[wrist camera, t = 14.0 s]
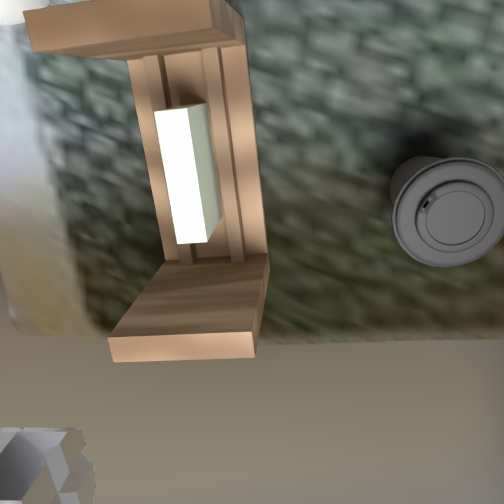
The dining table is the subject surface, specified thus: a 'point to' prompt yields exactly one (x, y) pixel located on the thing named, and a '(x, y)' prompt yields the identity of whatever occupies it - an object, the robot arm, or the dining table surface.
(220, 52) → the track frame
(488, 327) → the dining table surface
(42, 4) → the sauce bottle
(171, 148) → the door panel
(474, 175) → the coffee cup
